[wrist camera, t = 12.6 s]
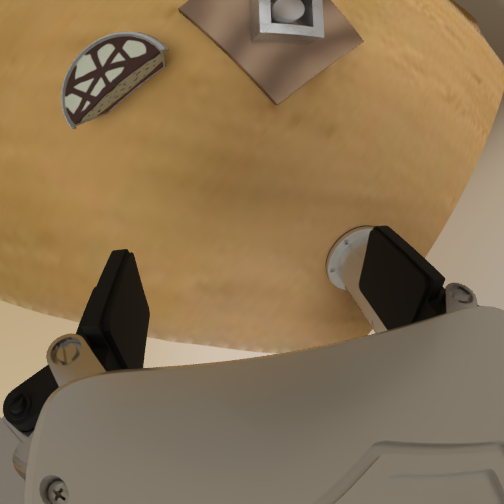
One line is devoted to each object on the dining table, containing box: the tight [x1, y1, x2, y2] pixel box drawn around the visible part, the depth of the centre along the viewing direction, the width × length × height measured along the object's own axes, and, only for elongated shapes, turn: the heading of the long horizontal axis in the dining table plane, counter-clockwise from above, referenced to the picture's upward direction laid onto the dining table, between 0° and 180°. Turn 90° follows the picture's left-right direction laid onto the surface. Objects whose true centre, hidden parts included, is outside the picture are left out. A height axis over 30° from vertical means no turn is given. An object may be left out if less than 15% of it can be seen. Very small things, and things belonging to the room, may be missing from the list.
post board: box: [178, 0, 364, 105], centre depth 24 cm, size 18×16×6 cm
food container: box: [61, 32, 169, 129], centre depth 23 cm, size 12×6×10 cm, turn 122°
